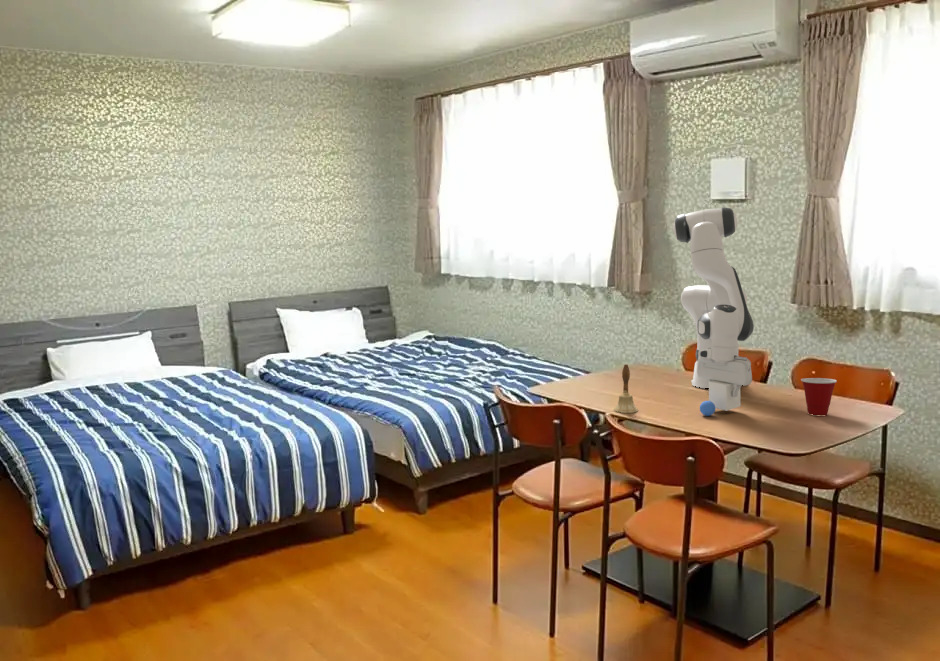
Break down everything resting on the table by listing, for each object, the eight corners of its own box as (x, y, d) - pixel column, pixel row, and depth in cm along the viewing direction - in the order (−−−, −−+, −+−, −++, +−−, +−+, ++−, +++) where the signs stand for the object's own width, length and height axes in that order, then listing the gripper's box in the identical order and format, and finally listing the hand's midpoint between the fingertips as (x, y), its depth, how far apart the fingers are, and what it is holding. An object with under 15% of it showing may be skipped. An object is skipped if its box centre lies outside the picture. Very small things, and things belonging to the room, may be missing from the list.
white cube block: (723, 402, 281) (722, 377, 280) (740, 406, 275) (740, 380, 274) (709, 406, 277) (708, 381, 276) (726, 410, 272) (726, 385, 270)
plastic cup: (827, 410, 276) (828, 375, 274) (840, 418, 265) (842, 381, 264) (794, 410, 276) (796, 375, 275) (806, 418, 266) (808, 382, 264)
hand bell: (608, 409, 283) (609, 363, 281) (629, 406, 287) (629, 361, 284) (622, 414, 276) (622, 367, 274) (643, 411, 279) (643, 365, 277)
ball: (697, 398, 272) (695, 413, 272) (709, 401, 268) (707, 416, 268) (707, 400, 275) (705, 414, 275) (719, 402, 271) (717, 417, 271)
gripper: (756, 356, 267) (755, 398, 269) (706, 349, 283) (705, 388, 285) (744, 359, 263) (743, 401, 265) (694, 351, 280) (693, 390, 282)
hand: (723, 394), depth 275 cm, fingers closed on white cube block, 7 cm apart
